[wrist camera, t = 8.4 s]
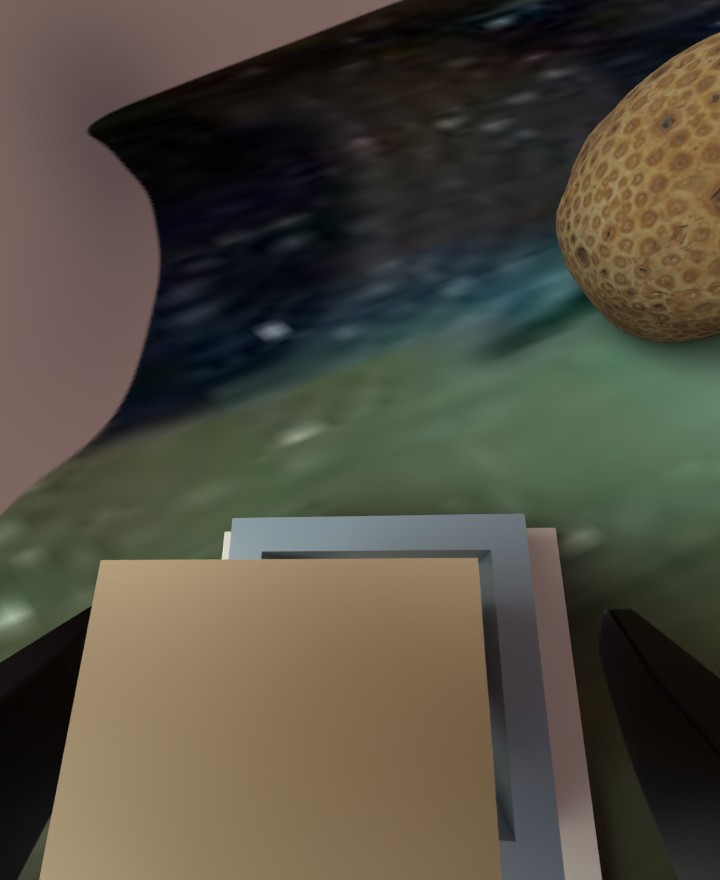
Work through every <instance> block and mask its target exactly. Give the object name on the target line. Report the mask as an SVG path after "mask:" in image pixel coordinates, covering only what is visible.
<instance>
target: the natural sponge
mask: <svg viewBox="0 0 720 880" xmlns="http://www.w3.org/2000/svg"><path fill="white" fill-rule="evenodd" d="M556 234H557V238H558V242H559V245H560V248H561V251H562V254H563V258H564V261H565V264H566V266H567V268H568V270H569V272H570V273H571V275H572V277H573V278H574V280H575V281H576V283H577V284H578V285H579V286H580V288H581V289H582V291H583V292H584V293H585V295H586V296H587V297H588V299H589V300H590V301H591V303H592V304H593V305H594V306H595V307H596V308H597V309H598V310H599V311H600V312H601V313H602V314H603V315H604V316H605V317H606V318H607V319H608V320H609V321H610V322H611V323H612V324H614V325H615V326H616V327H617V328H619V329H621V330H623V331H625V332H627V333H629V334H631V335H634V336H636V337H639V338H642V339H646V340H651V341H657V342H682V341H688V340H694V339H699V338H704V337H710V336H714V335H717V334H720V32H719V33H717V34H714V35H712V36H710V37H708V38H706V39H704V40H702V41H701V42H699V43H697V44H695V45H693V46H692V47H690V48H688V49H687V50H685V51H683V52H681V53H680V54H678V55H676V56H675V57H673V58H671V59H670V60H669V61H667V62H666V63H665V64H663V65H662V66H661V67H659V68H658V69H657V70H655V71H654V72H653V73H651V74H650V75H649V76H648V77H647V78H645V79H644V80H643V81H642V82H641V83H640V84H639V85H637V86H636V87H635V88H634V89H633V90H631V91H630V92H629V93H628V94H627V95H626V96H625V97H624V98H623V99H622V100H621V101H620V103H619V104H618V105H617V106H616V108H615V109H614V110H613V111H612V112H611V113H610V114H608V115H607V116H606V117H605V118H604V119H603V120H602V121H601V122H600V123H599V124H598V125H597V126H596V128H595V129H594V130H593V131H592V132H591V134H590V135H589V136H588V138H587V140H586V141H585V143H584V145H583V146H582V149H581V151H580V153H579V155H578V157H577V159H576V161H575V163H574V166H573V168H572V171H571V175H570V178H569V182H568V185H567V188H566V191H565V193H564V195H563V196H562V199H561V201H560V204H559V207H558V210H557V217H556Z"/></svg>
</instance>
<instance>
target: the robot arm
mask: <svg viewBox="0 0 720 880" xmlns="http://www.w3.org/2000/svg"><path fill="white" fill-rule="evenodd" d="M91 609H92V606H91V607H89V608H87V609H86V610H84V611H82V612H81V613H79V614H78V615H76V616H74V617H73V618H71V619H70V620H68V621H66V622H65V623H63V624H62V625H60V626H58V627H57V628H55V629H54V630H52V631H50V632H49V633H47V634H46V635H44V636H42V637H41V638H39V639H38V640H36V641H34V642H33V643H31V644H30V645H28V646H26V647H25V648H23V649H21V650H20V651H18V652H17V653H15V654H13V655H12V656H10V657H9V658H7V659H5V660H4V661H2V662H1V663H0V880H18V879H19V877H20V875H21V873H22V871H23V869H24V867H25V865H26V863H27V861H28V859H29V857H30V855H31V853H32V851H33V849H34V847H35V846H36V844H37V842H38V840H39V838H40V836H41V834H42V832H43V830H44V828H45V826H46V824H47V822H48V820H49V818H50V816H51V814H52V811H53V806H54V801H55V796H56V791H57V785H58V780H59V775H60V770H61V765H62V759H63V754H64V749H65V744H66V739H67V733H68V728H69V723H70V718H71V713H72V707H73V702H74V697H75V692H76V687H77V681H78V676H79V671H80V666H81V661H82V655H83V650H84V645H85V640H86V635H87V629H88V624H89V619H90V614H91ZM598 649H599V656H600V660H601V663H602V667H603V670H604V674H605V677H606V681H607V684H608V688H609V691H610V695H611V698H612V702H613V705H614V709H615V712H616V716H617V719H618V723H619V726H620V730H621V733H622V737H623V740H624V743H625V746H626V750H627V752H628V755H629V758H630V760H631V763H632V766H633V768H634V771H635V773H636V776H637V778H638V781H639V783H640V786H641V788H642V791H643V793H644V796H645V798H646V801H647V803H648V806H649V808H650V811H651V813H652V816H653V818H654V821H655V823H656V826H657V828H658V831H659V833H660V836H661V838H662V841H663V843H664V846H665V848H666V851H667V853H668V856H669V858H670V861H671V863H672V866H673V868H674V871H675V873H676V876H677V878H678V880H720V678H719V677H718V676H717V675H716V674H714V673H713V672H712V671H710V670H709V669H708V668H707V667H705V666H704V665H703V664H702V663H700V662H699V661H698V660H696V659H695V658H694V657H693V656H691V655H690V654H689V653H688V652H686V651H685V650H684V649H682V648H681V647H680V646H679V645H677V644H676V643H675V642H674V641H672V640H671V639H670V638H669V637H667V636H666V635H665V634H663V633H662V632H661V631H660V630H658V629H657V628H656V627H655V626H653V625H652V624H651V623H649V622H648V621H647V620H646V619H644V618H643V617H642V616H641V615H639V614H638V613H637V612H635V611H634V610H632V609H629V608H608V609H606V610H605V611H604V613H603V617H602V623H601V629H600V636H599V642H598Z"/></svg>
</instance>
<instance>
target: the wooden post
mask: <svg viewBox="0 0 720 880" xmlns="http://www.w3.org/2000/svg"><path fill="white" fill-rule="evenodd" d="M39 880H502V873H501V860H500V847H499V833H498V820H497V807H496V793H495V780H494V767H493V754H492V740H491V727H490V714H489V700H488V687H487V674H486V660H485V647H484V634H483V620H482V607H481V594H480V581H479V567H478V558H380V559H225V560H101V562H100V567H99V572H98V577H97V583H96V588H95V593H94V598H93V603H92V609H91V614H90V619H89V624H88V629H87V635H86V640H85V645H84V650H83V655H82V661H81V666H80V671H79V676H78V681H77V687H76V692H75V697H74V702H73V707H72V713H71V718H70V723H69V728H68V733H67V739H66V744H65V749H64V754H63V759H62V765H61V770H60V775H59V780H58V785H57V791H56V796H55V801H54V806H53V811H52V817H51V822H50V827H49V832H48V837H47V843H46V848H45V853H44V858H43V863H42V868H41V874H40V879H39Z"/></svg>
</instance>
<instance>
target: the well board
mask: <svg viewBox="0 0 720 880" xmlns="http://www.w3.org/2000/svg"><path fill="white" fill-rule="evenodd" d="M380 558H478V567H479V581H480V594H481V607H482V620H483V634H484V647H485V660H486V674H487V687H488V700H489V714H490V727H491V740H492V754H493V767H494V780H495V793H496V807H497V820H498V833H499V847H500V860H501V873H502V880H602V876H601V868H600V861H599V853H598V845H597V838H596V830H595V823H594V815H593V808H592V800H591V792H590V785H589V777H588V770H587V762H586V755H585V747H584V739H583V732H582V724H581V717H580V709H579V702H578V694H577V686H576V679H575V671H574V664H573V656H572V649H571V641H570V633H569V626H568V618H567V611H566V603H565V596H564V588H563V580H562V573H561V565H560V558H559V550H558V543H557V535H556V528H526V522H525V514H463V515H402V516H341V517H280V518H233V520H232V530H231V532H225V535H224V544H223V554H222V560H225V559H380Z"/></svg>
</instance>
